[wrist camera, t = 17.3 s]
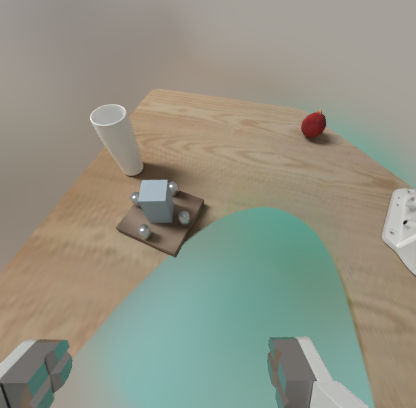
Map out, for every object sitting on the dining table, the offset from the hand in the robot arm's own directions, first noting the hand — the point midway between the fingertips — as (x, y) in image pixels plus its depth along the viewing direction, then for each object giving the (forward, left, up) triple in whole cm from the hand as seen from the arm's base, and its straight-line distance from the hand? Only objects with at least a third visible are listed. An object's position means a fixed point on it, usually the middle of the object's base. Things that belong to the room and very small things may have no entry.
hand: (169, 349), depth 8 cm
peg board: (-16, -16, -28) cm, 36 cm away
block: (-16, -15, -26) cm, 34 cm away
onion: (-55, +8, -28) cm, 62 cm away
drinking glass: (-25, -30, -28) cm, 48 cm away
